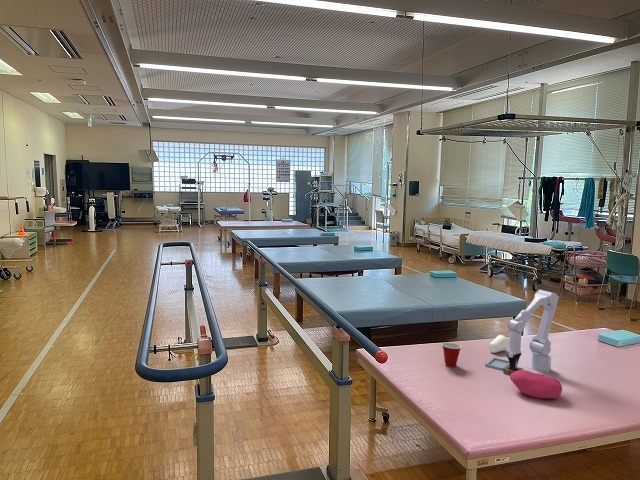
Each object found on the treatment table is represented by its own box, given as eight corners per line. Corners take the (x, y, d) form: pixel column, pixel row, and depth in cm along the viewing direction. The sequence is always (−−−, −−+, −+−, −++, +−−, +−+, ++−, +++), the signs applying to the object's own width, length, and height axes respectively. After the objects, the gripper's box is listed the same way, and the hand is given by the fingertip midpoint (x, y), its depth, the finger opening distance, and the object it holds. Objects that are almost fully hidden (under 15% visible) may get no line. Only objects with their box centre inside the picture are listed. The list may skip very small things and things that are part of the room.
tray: (511, 364, 266) (511, 361, 266) (503, 371, 255) (503, 368, 255) (493, 360, 272) (493, 357, 272) (485, 366, 261) (485, 364, 261)
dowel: (517, 372, 252) (518, 358, 251) (515, 374, 249) (516, 360, 249) (510, 371, 254) (511, 356, 253) (509, 372, 252) (509, 358, 251)
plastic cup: (465, 366, 262) (466, 345, 261) (452, 370, 256) (453, 349, 254) (449, 360, 271) (450, 340, 269) (437, 364, 264) (437, 343, 263)
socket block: (522, 373, 253) (523, 368, 252) (518, 377, 246) (519, 372, 246) (507, 369, 258) (508, 364, 257) (503, 374, 251) (503, 369, 251)
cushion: (503, 388, 231) (506, 369, 229) (521, 379, 243) (524, 362, 241) (550, 409, 214) (554, 389, 212) (566, 399, 226) (570, 380, 224)
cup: (501, 348, 277) (512, 342, 283) (488, 337, 283) (500, 331, 289) (495, 359, 283) (506, 353, 289) (482, 348, 289) (494, 342, 295)
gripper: (511, 337, 258) (509, 361, 260) (503, 344, 247) (501, 368, 248) (524, 340, 254) (523, 364, 255) (517, 347, 242) (515, 372, 244)
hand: (513, 366), depth 252 cm, fingers open, 4 cm apart
